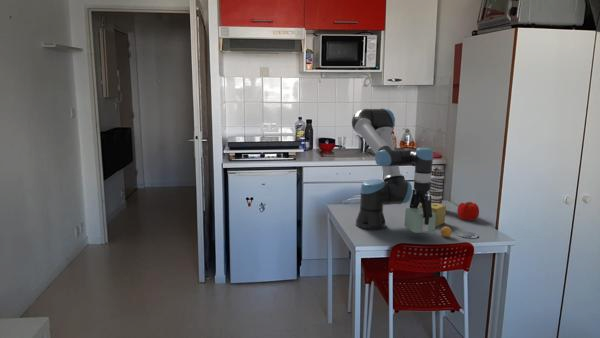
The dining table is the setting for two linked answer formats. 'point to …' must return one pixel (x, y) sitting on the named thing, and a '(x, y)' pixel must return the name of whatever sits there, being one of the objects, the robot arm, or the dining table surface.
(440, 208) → the cheese
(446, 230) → the ball
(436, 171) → the decorative candle
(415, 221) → the sage green cube
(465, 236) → the disc
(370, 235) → the dining table surface
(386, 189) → the robot arm
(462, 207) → the tomato
